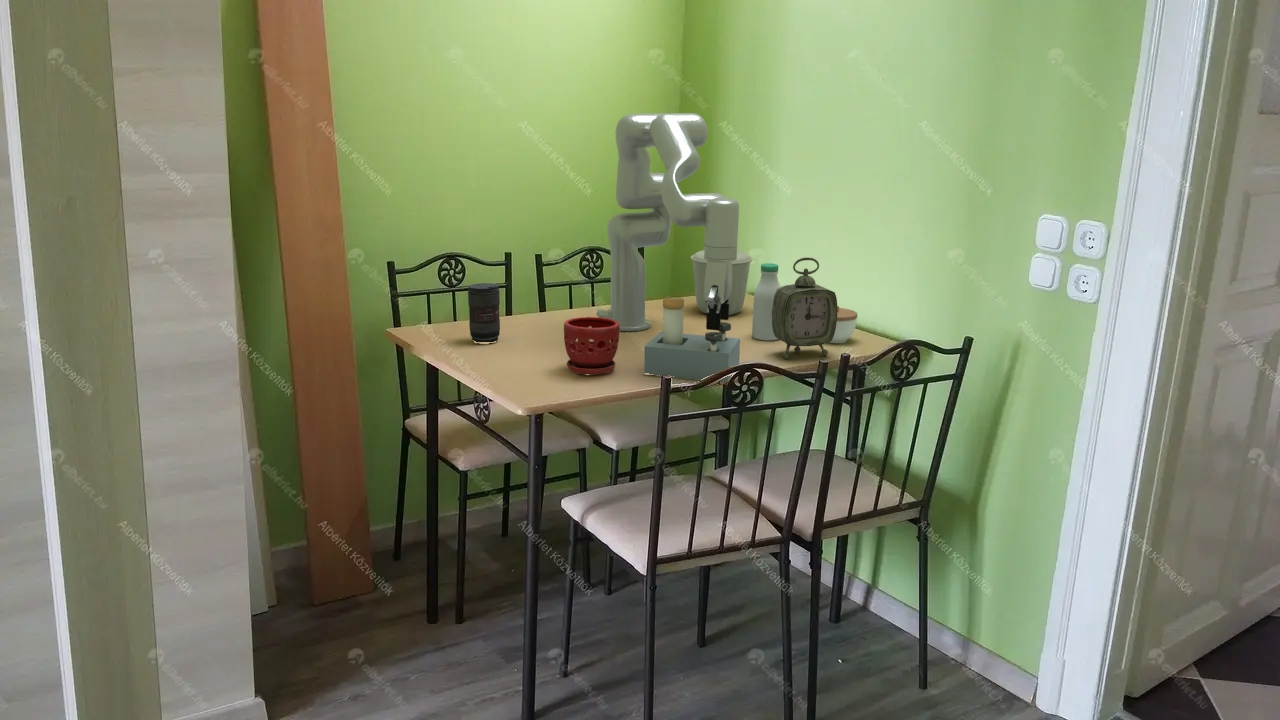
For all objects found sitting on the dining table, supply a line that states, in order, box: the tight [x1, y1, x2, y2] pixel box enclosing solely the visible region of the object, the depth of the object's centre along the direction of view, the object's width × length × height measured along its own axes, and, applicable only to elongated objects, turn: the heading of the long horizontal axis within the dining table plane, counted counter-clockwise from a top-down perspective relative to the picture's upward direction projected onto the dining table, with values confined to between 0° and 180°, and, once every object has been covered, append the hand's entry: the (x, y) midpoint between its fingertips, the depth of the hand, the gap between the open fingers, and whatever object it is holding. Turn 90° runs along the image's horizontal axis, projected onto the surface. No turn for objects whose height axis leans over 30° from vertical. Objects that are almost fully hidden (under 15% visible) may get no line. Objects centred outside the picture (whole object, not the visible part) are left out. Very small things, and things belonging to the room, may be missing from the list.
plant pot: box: [563, 316, 620, 376], centre depth 237 cm, size 13×13×12 cm
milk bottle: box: [751, 262, 781, 342], centre depth 267 cm, size 8×8×20 cm
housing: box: [643, 331, 741, 384], centre depth 238 cm, size 20×14×7 cm
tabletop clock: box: [772, 257, 838, 360], centre depth 250 cm, size 14×9×25 cm, turn 106°
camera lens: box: [467, 282, 501, 342], centre depth 261 cm, size 8×8×15 cm
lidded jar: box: [828, 305, 858, 344], centre depth 266 cm, size 11×11×9 cm
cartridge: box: [662, 296, 685, 345], centre depth 238 cm, size 5×5×14 cm
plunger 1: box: [705, 331, 723, 351], centre depth 231 cm, size 4×4×7 cm
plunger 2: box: [716, 321, 732, 341], centre depth 240 cm, size 4×4×7 cm
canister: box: [690, 250, 753, 316], centre depth 294 cm, size 18×18×21 cm
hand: (717, 324), depth 235 cm, fingers open, 9 cm apart
